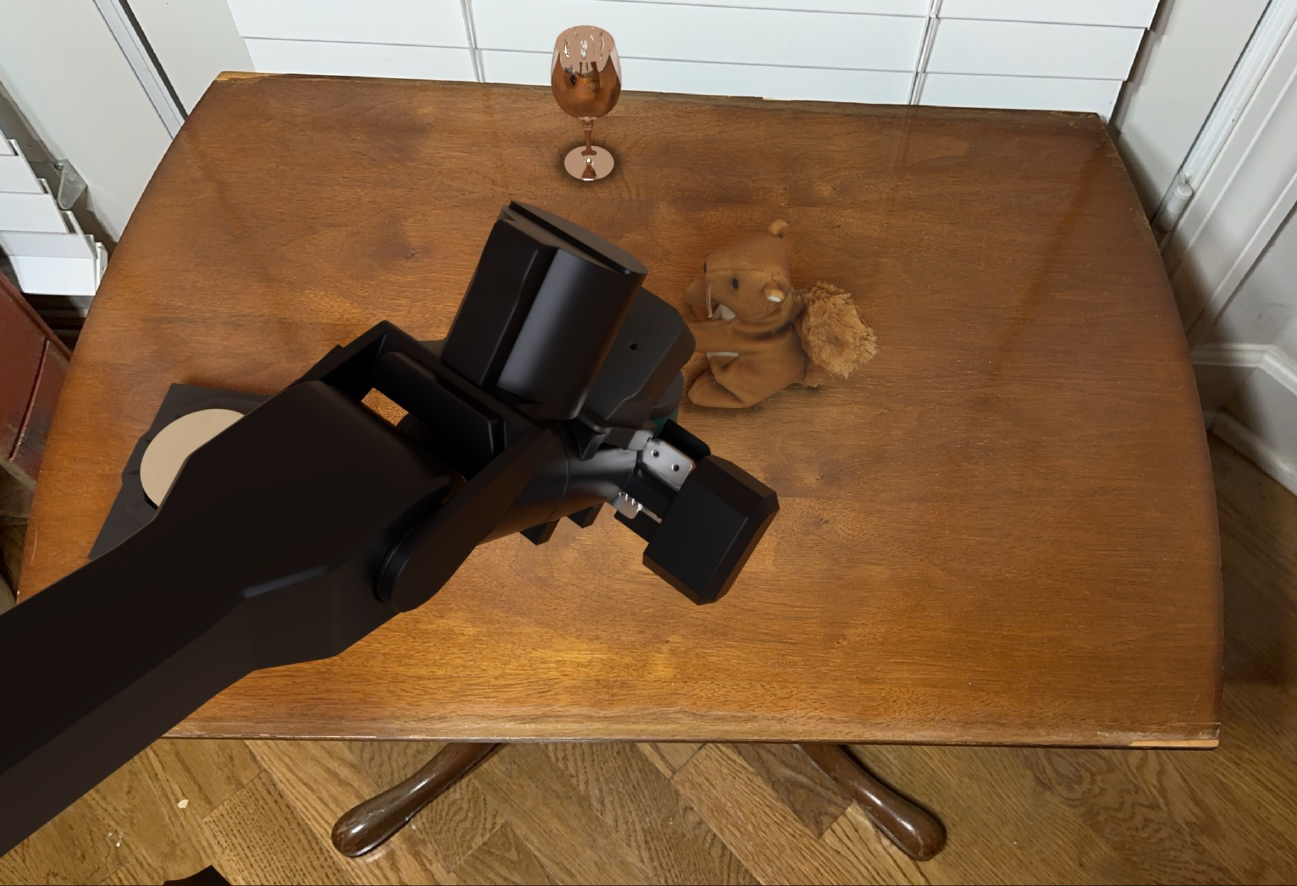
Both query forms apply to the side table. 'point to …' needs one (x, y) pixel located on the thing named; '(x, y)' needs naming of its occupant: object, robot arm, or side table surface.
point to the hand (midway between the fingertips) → (660, 431)
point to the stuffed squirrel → (769, 324)
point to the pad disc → (179, 447)
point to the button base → (132, 499)
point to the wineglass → (586, 91)
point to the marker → (668, 405)
